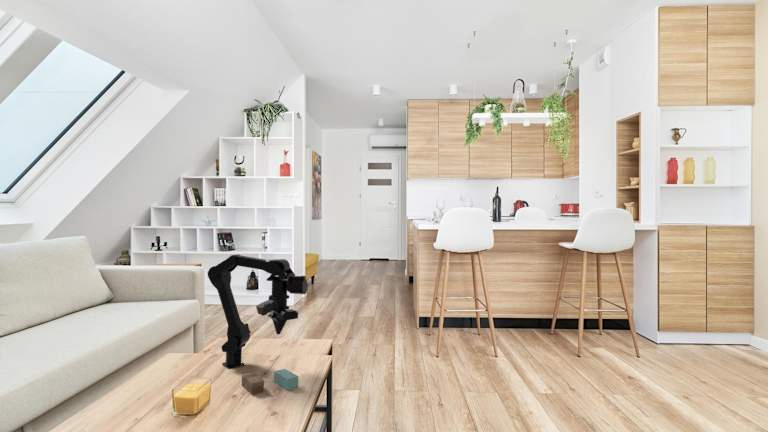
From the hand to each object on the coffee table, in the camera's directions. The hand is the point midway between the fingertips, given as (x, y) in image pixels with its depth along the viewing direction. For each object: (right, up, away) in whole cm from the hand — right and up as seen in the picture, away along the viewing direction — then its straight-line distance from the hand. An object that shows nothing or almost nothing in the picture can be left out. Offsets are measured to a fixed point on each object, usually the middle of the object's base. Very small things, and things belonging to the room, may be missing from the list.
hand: (278, 334), depth 153 cm
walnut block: (-6, -11, -15) cm, 20 cm away
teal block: (+3, -11, -12) cm, 17 cm away
